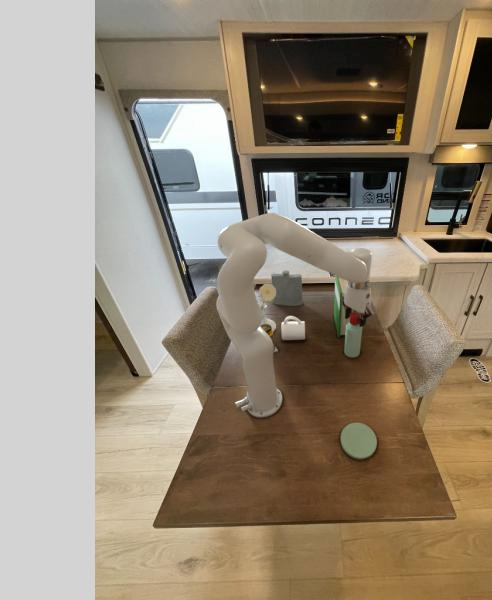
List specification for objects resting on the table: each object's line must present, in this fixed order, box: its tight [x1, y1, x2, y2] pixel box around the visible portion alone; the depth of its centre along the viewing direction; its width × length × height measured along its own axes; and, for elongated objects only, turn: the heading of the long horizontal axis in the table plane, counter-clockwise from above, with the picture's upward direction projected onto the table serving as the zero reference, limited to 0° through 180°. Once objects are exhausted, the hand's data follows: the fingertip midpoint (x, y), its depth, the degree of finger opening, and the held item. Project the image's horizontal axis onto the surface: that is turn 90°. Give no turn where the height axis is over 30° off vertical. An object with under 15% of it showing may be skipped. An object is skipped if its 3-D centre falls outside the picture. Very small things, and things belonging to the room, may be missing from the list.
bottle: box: [343, 322, 363, 359], centre depth 109 cm, size 7×7×19 cm
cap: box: [350, 311, 361, 325], centre depth 104 cm, size 4×4×4 cm
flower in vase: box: [257, 282, 277, 333], centre depth 120 cm, size 13×11×25 cm
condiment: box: [260, 324, 279, 354], centre depth 112 cm, size 7×8×12 cm
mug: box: [280, 315, 306, 341], centre depth 119 cm, size 8×10×12 cm
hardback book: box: [333, 275, 357, 338], centre depth 124 cm, size 18×7×24 cm, turn 4°
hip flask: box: [270, 269, 304, 307], centre depth 141 cm, size 16×4×20 cm, turn 86°
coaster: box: [340, 422, 378, 460], centre depth 81 cm, size 11×11×1 cm
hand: (355, 321), depth 106 cm, fingers open, 6 cm apart
